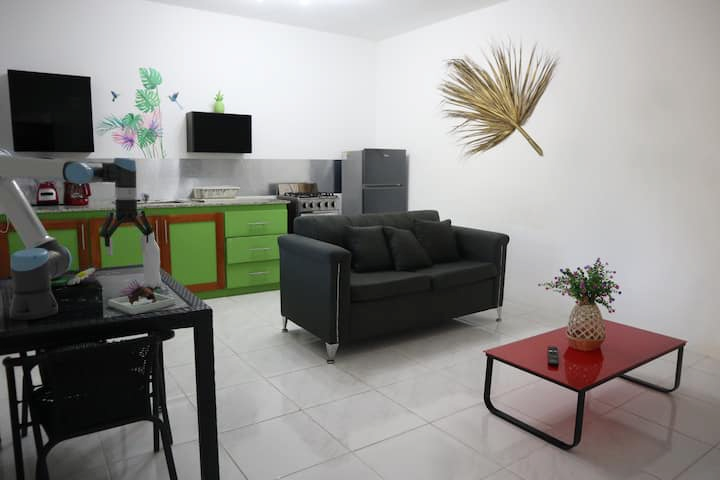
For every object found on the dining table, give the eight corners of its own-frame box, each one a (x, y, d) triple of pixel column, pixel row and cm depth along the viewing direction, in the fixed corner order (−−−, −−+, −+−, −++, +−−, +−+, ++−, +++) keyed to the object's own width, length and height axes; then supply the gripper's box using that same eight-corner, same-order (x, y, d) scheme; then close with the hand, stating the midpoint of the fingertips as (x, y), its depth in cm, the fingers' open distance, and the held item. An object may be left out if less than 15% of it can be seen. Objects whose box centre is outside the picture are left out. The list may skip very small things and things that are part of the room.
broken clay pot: (154, 309, 198) (141, 292, 195) (133, 318, 199) (120, 301, 196) (164, 293, 209) (152, 277, 206) (145, 302, 210) (133, 286, 207)
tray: (132, 314, 190) (132, 308, 190) (108, 306, 201) (108, 300, 201) (175, 304, 204) (175, 298, 204) (150, 297, 215) (150, 291, 214)
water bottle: (146, 285, 235) (144, 230, 231) (163, 285, 236) (160, 230, 232) (141, 289, 228) (139, 232, 224) (158, 289, 229) (156, 232, 225)
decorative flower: (26, 298, 218) (101, 279, 238) (23, 287, 217) (99, 269, 237) (20, 294, 228) (93, 276, 247) (17, 284, 227) (90, 266, 246)
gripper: (97, 200, 187) (99, 258, 190) (161, 198, 206) (162, 251, 209) (88, 198, 191) (90, 255, 194) (151, 197, 211) (152, 248, 214)
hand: (127, 253), depth 202 cm, fingers open, 13 cm apart
